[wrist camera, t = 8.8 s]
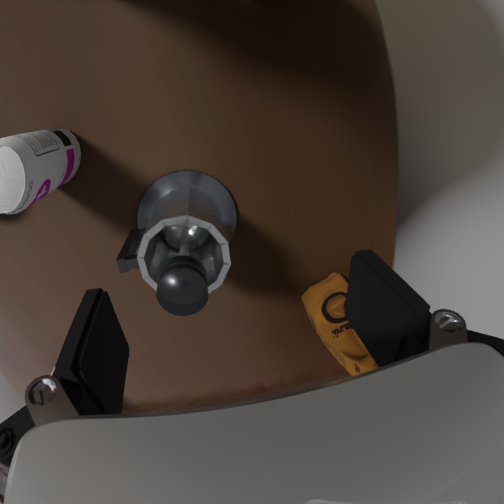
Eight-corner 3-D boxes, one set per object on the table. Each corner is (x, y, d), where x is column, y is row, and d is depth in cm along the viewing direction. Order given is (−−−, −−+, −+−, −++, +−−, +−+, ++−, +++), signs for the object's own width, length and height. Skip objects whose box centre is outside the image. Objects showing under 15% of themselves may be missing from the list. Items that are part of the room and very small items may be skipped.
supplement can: (90, 170, 35) (41, 200, 22) (46, 192, 35) (-10, 230, 22) (73, 117, 32) (15, 123, 18) (29, 143, 31) (-34, 162, 18)
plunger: (159, 209, 37) (138, 269, 23) (205, 201, 37) (211, 257, 23) (168, 251, 39) (157, 327, 25) (211, 244, 40) (222, 317, 26)
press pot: (125, 181, 37) (97, 209, 26) (230, 162, 39) (244, 182, 27) (147, 271, 43) (134, 324, 32) (241, 255, 45) (257, 305, 34)
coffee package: (341, 261, 49) (415, 346, 29) (363, 306, 55) (424, 387, 35) (292, 293, 50) (344, 394, 30) (320, 334, 56) (368, 424, 36)
